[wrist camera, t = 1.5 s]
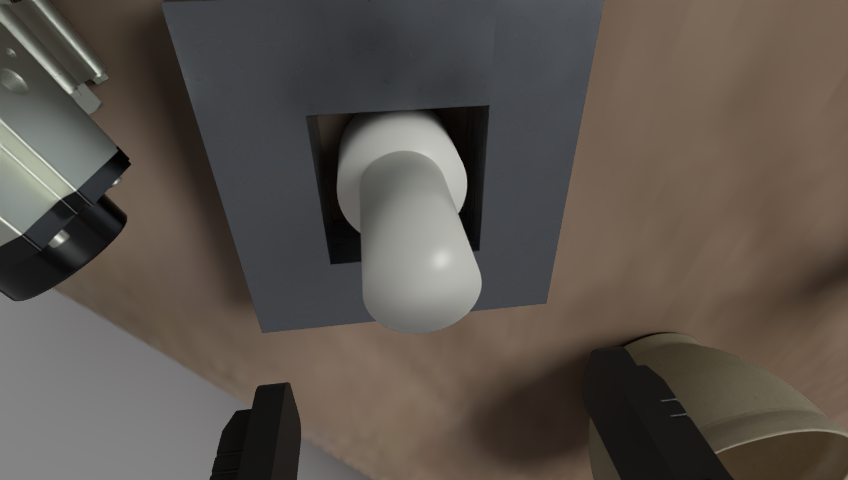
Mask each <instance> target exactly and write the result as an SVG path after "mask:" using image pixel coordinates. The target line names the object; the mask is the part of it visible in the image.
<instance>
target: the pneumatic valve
mask: <svg viewBox="0 0 848 480" xmlns="http://www.w3.org/2000/svg"><path fill="white" fill-rule="evenodd" d="M106 69H108V68H107V67H106V66H105V65H104V64H103V62H102V61H101V60H100V59H99V58H98V57H97V55H96V54H95V53H94V52H93V51H92V50H91V48H90V47H89V46H88V45H87V44H86V43H85V41H84V40H83V39H82V38H81V37H80V36H79V34H78V33H77V32H76V31H75V30H74V29H73V27H72V26H71V25H70V24H69V23H68V22H67V20H66V19H65V18H64V17H63V16H62V15H61V13H60V12H59V11H58V10H57V9H56V8H55V6H54V5H53V4H52V3H51V2H50V1H49V0H22V1H20V2H16V3H12V2H11V1H10V0H0V292H2V293H3V294H5V295H6V296H7V297H9V298H10V299H12V300H14V301H23V300H27V299H30V298H32V297H35V296H37V295H39V294H41V293H43V292H45V291H47V290H49V289H51V288H52V287H54V286H56V285H57V284H59V283H61V282H62V281H64V280H65V279H67V278H68V277H70V276H71V275H73V274H74V273H75V272H77V271H78V270H80V269H81V268H82V267H84V266H85V265H86V264H88V263H89V262H90V261H91V260H92V259H94V258H95V257H96V256H97V255H98V254H100V253H101V252H102V251H103V250H104V249H105V248H106V247H107V246H108V245H109V244H110V243H111V242H112V241H113V240H114V239H115V238H116V237H117V236H118V235H119V234H120V232H121V231H122V230H123V228H124V227H125V225H126V222H127V215H126V214H125V213H124V212H123V211H122V210H121V209H120V208H119V207H118V206H117V205H116V204H115V203H114V202H113V201H112V200H111V199H110V198H109V197H108V196H106V195H105V194H104V193H105V192H106V191H107V190H108V189H109V188H111V187H113V186H115V185H116V184H118V183H119V182H120V181H121V180H122V178H121V177H120V176H121V175H122V174H123V172H124V171H125V170H126V169H127V168H128V167H129V166H130V165H131V163H130V162H129V161H128V160H129V158H128V157H127V156H126V155H125V154H124V152H123V151H122V150H121V149H120V148H119V147H118V146H117V145H116V144H115V143H114V142H113V141H112V140H111V139H110V138H109V137H108V135H107V134H106V133H105V132H104V131H103V130H102V129H101V128H100V127H99V126H98V125H97V124H96V123H95V122H94V121H93V120H92V118H91V117H90V116H89V115H90V114H92V113H93V112H95V111H96V110H98V109H99V108H101V107H102V106H103V105H104V104H103V103H102V102H101V101H100V100H99V98H98V97H97V96H96V95H95V94H94V93H93V92H92V91H91V90H90V88H89V87H88V86H87V85H86V84H85V83H84V82H86V81H87V80H89V79H90V80H91V81H92V80H93V81H94V82H95V83H96V84H97V85H98V84H100V83H102V82H104V81H105V80H107V79H109V78H108V76H107V75H106V74H105V73H106V72H105V70H106ZM99 73H100V74H99Z"/></svg>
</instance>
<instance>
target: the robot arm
mask: <svg viewBox="0 0 848 480" xmlns="http://www.w3.org/2000/svg"><path fill="white" fill-rule="evenodd" d="M582 394H583V400H584V403H585V406H586V409H587V411H588V413H589V415H590V417H591V419H592V421H593V423H594V425H595V427H596V429H597V431H598V433H599V436H600V438H601V440H602V442H603V444H604V446H605V448H606V450H607V452H608V454H609V456H610V458H611V460H612V462H613V464H614V466H615V468H616V470H617V472H618V475H619V477H620V479H621V480H734V479H733V478H732V476H731V475H730V474H729V473H728V471H727V470H726V468H725V467H724V465H723V464H722V463H721V461H720V460H719V458H718V457H717V455H716V454H715V452H714V451H713V450H712V448H711V447H710V445H709V444H708V442H707V441H706V439H705V438H704V437H703V435H702V434H701V432H700V431H699V429H698V428H697V426H696V425H695V424H694V422H693V421H692V419H691V418H690V416H689V417H688V416H687V412H686V411H685V409H684V408H683V406H682V405H681V403H680V402H679V401H677V399H676V396H675V395H674V393H673V392H672V390H671V389H670V387H669V386H668V385H667V383H666V382H665V380H664V379H663V378H661V377H660V376H659V375H658V374H657V373H655V372H654V371H653V370H652V369H650V368H649V367H648V366H647V365H639V366H637V364H636V363H635V361H634V360H633V358H632V357H631V355H630V354H629V352H628V351H627V350H626V349H625V348H624V347H613V348H604V349H595V350H593V351H592V353H591V357H590V360H589V364H588V367H587V371H586V374H585V378H584V381H583V385H582ZM300 444H301V423H300V417H299V413H298V410H297V406H296V403H295V399H294V396H293V392H292V389H291V385H290V383H289V382H287V383H278V384H269V385H260V386H258V387H257V389H256V392H255V396H254V401H253V406H252V409H247V410H239V411H236V412H235V414H234V415H233V416H232V418H231V419H230V421H229V422H228V424H227V425H226V427H225V428H224V429H223V431H222V435H221V438H220V442H219V446H218V450H217V457H216V458H215V461H214V465H213V469H212V476H211V477H210V480H297V472H298V463H299V454H300Z"/></svg>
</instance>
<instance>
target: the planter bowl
mask: <svg viewBox="0 0 848 480" xmlns="http://www.w3.org/2000/svg"><path fill="white" fill-rule="evenodd" d="M624 348H625V349H626V350H627V351H628V352H629V354H630V355H631V357H632V358H633V360H634V361H635V363H636V364H637V366H639V365H647V366H648V367H649V368H650V369H652V370H653V371H654V372H655V373H657V374H658V375H659V376H660V377H661V378H663V379H664V380H665V382H666V383H667V385H668V386H669V387H670V389H671V390H672V392H673V393H674V395H675V396H676V399H677V401H679V402H680V403H681V405H682V406H683V408H684V409H685V411H686V412H687V416H688V417H689V416H690V418H691V419H692V421H693V422H694V424H695V425H696V426H697V428H698V429H699V431H700V432H701V434H702V435H703V437H704V438H705V439H706V441H707V442H708V444H709V445H710V447H711V448H712V450H713V451H714V452H715V454H716V455H717V457H718V458H719V460H720V461H721V463H722V464H723V465H724V467H725V468H726V470H727V471H728V473H729V474H730V475H731V476H732V478H733V479H734V480H847V479H848V431H847V430H845V429H844V428H843V427H842V426H840V425H839V424H837V423H836V422H834V421H832V420H831V419H829V418H828V417H827V416H825V415H824V414H823V413H822V412H821V411H820V410H819V409H818V408H817V407H816V406H815V405H814V404H813V403H812V402H810V401H809V400H808V399H807V398H806V397H804V396H803V395H802V394H801V393H800V392H798V391H797V390H796V389H794V388H793V387H792V386H790V385H789V384H787V383H786V382H785V381H783V380H782V379H780V378H778V377H777V376H775V375H773V374H772V373H770V372H768V371H766V370H765V369H763V368H761V367H759V366H757V365H755V364H753V363H751V362H749V361H747V360H744V359H742V358H740V357H737V356H735V355H732V354H729V353H727V352H724V351H720V350H717V349H714V348H709V347H705V346H702V345H701V344H700V343H699V342H698V341H696V340H695V339H693V338H692V337H690V336H687V335H683V334H678V333H664V334H657V335H652V336H648V337H645V338H642V339H639V340H637V341H635V342H632V343H630V344H628V345H626V346H624ZM589 455H590V463H591V469H592V474H593V479H594V480H621V479H620V477H619V475H618V472H617V470H616V468H615V466H614V464H613V462H612V460H611V458H610V456H609V454H608V452H607V450H606V448H605V446H604V444H603V442H602V440H601V438H600V436H599V433H598V431H597V429H596V427H595V425H594V423H593V421H592V419H591V417H590V423H589Z"/></svg>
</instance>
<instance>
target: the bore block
mask: <svg viewBox="0 0 848 480" xmlns="http://www.w3.org/2000/svg"><path fill="white" fill-rule="evenodd" d="M160 3H161V7H162V10H163V13H164V16H165V20H166V23H167V26H168V29H169V33H170V36H171V39H172V42H173V45H174V49H175V52H176V55H177V58H178V62H179V65H180V68H181V71H182V75H183V78H184V81H185V84H186V88H187V91H188V94H189V97H190V101H191V104H192V107H193V110H194V114H195V117H196V120H197V123H198V126H199V130H200V133H201V136H202V139H203V143H204V146H205V149H206V152H207V156H208V159H209V162H210V165H211V169H212V172H213V175H214V178H215V182H216V185H217V188H218V191H219V195H220V198H221V201H222V204H223V207H224V211H225V214H226V217H227V220H228V224H229V227H230V230H231V233H232V237H233V240H234V243H235V246H236V250H237V253H238V256H239V259H240V263H241V266H242V269H243V272H244V276H245V279H246V282H247V285H248V288H249V292H250V295H251V298H252V301H253V305H254V308H255V311H256V314H257V318H258V321H259V324H260V327H261V331H262V333H267V332H276V331H286V330H295V329H305V328H315V327H324V326H334V325H343V324H353V323H363V322H372V321H376V320H375V319H374V318H373V317H372V316H371V315H370V314H369V312H368V310H367V309H366V307H365V304H364V301H363V290H362V259H361V233H360V232H358V231H357V230H356V229H355V228H354V227H353V226H352V225H351V224H350V223H349V222H348V221H341V222H333V219H332V212H331V206H330V199H329V193H328V186H327V179H326V173H325V166H324V160H323V153H322V146H321V140H320V133H319V127H318V120H317V115H326V114H344V113H361V112H379V111H396V110H414V109H431V108H449V107H466V106H468V121H467V144H466V167H465V171H466V177H467V191H466V197H465V200H464V212H459V213H458V215H459V218H460V220H461V223H462V226H463V228H464V231H465V234H466V236H467V239H468V242H469V244H470V247H471V250H472V252H473V255H474V258H475V260H476V263H477V266H478V268H479V271H480V274H481V281H482V285H481V291H480V294H479V297H478V299H477V301H476V303H475V305H474V306H473V308H472V309H471V310H470V311H478V310H488V309H497V308H507V307H516V306H526V305H536V304H545V303H546V302H547V297H548V292H549V287H550V281H551V276H552V271H553V266H554V260H555V255H556V250H557V245H558V239H559V234H560V229H561V224H562V218H563V213H564V208H565V203H566V197H567V192H568V187H569V182H570V176H571V171H572V166H573V161H574V155H575V150H576V145H577V140H578V134H579V129H580V124H581V119H582V113H583V108H584V103H585V98H586V92H587V87H588V82H589V77H590V71H591V66H592V61H593V56H594V50H595V45H596V40H597V35H598V29H599V24H600V19H601V14H602V8H603V3H604V0H164V1H162V2H160Z"/></svg>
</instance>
